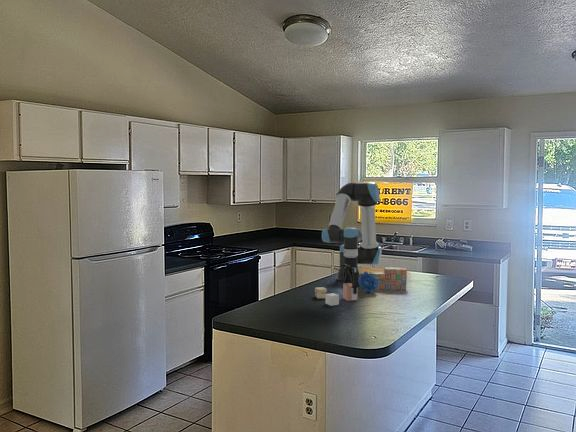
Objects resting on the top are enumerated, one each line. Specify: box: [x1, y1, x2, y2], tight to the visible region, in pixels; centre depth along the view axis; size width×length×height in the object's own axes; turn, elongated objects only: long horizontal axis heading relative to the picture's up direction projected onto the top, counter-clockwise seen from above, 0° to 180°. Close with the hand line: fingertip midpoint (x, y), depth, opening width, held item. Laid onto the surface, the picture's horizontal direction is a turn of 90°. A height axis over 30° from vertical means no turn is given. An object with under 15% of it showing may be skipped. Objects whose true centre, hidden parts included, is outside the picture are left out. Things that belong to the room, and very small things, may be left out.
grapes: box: [358, 271, 378, 293], centre depth 285 cm, size 12×7×12 cm, turn 62°
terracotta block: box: [342, 282, 359, 302], centre depth 270 cm, size 6×6×8 cm
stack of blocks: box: [368, 266, 408, 291], centre depth 297 cm, size 21×6×12 cm, turn 85°
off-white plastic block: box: [325, 292, 340, 306], centre depth 259 cm, size 5×5×5 cm
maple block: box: [314, 286, 328, 300], centre depth 275 cm, size 5×5×5 cm
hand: (350, 297), depth 270 cm, fingers open, 11 cm apart
